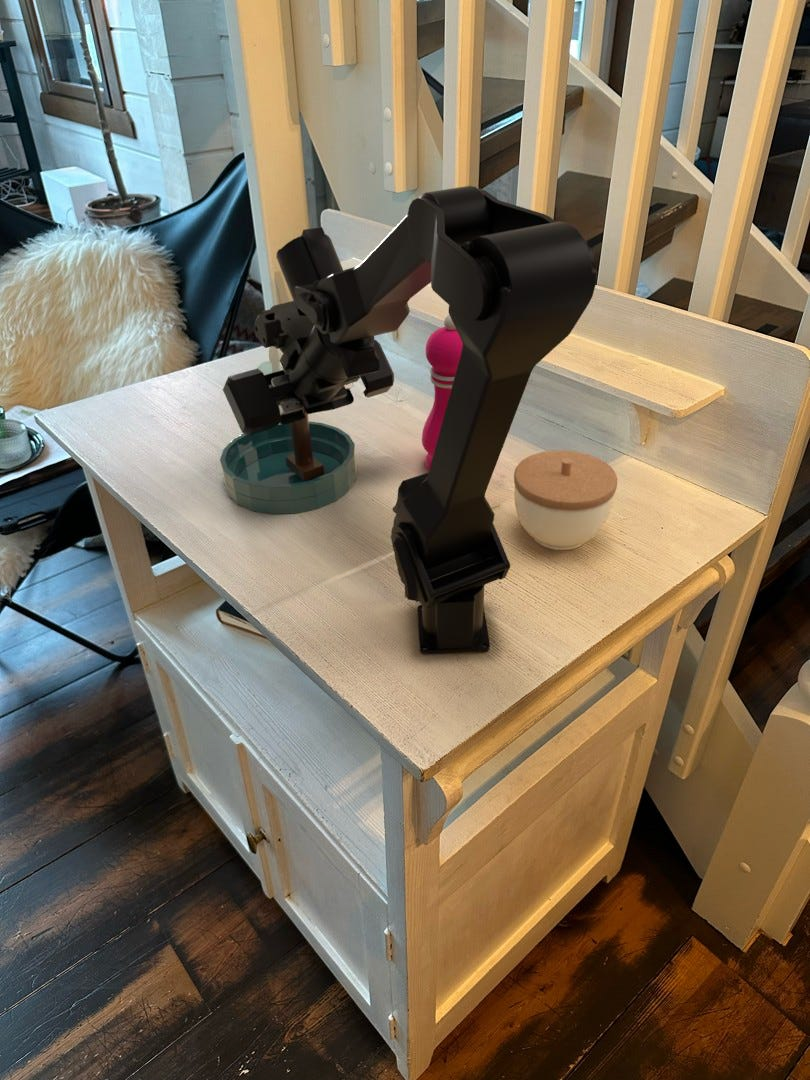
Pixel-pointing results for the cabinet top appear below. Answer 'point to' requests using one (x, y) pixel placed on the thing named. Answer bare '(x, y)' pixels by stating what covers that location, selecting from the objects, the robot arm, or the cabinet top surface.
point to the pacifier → (272, 362)
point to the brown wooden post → (303, 450)
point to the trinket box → (563, 497)
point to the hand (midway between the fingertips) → (293, 413)
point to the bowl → (287, 470)
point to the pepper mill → (440, 379)
